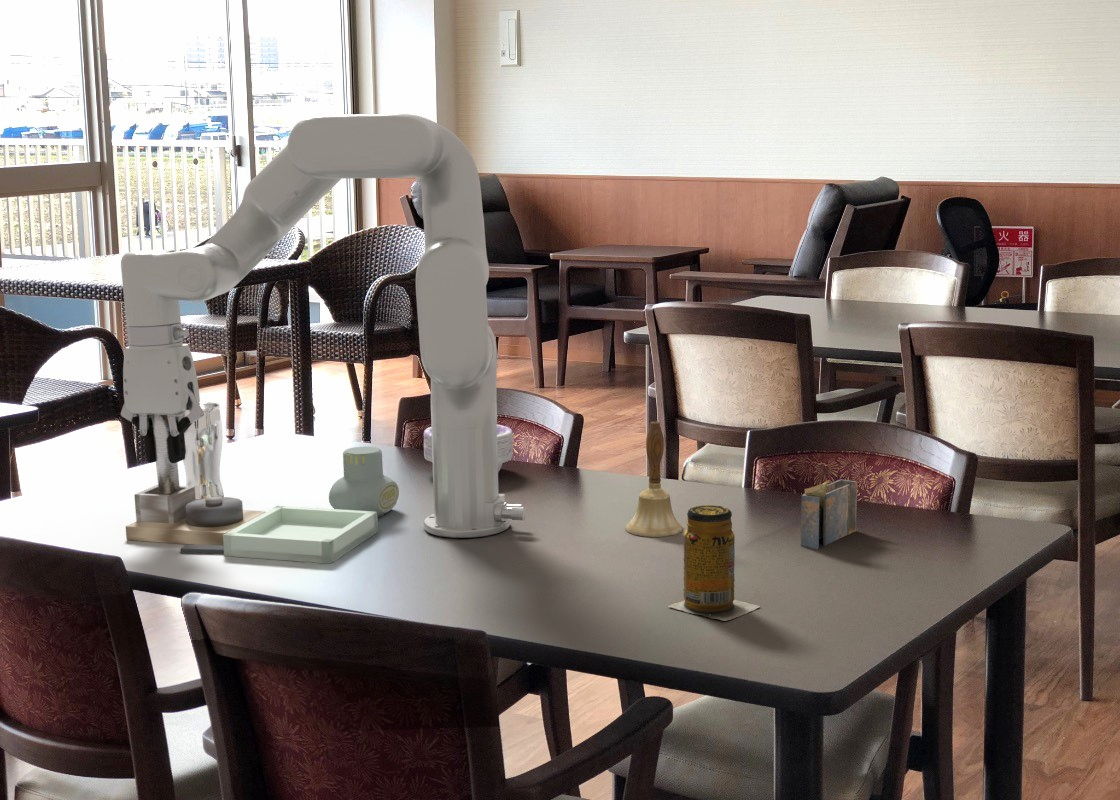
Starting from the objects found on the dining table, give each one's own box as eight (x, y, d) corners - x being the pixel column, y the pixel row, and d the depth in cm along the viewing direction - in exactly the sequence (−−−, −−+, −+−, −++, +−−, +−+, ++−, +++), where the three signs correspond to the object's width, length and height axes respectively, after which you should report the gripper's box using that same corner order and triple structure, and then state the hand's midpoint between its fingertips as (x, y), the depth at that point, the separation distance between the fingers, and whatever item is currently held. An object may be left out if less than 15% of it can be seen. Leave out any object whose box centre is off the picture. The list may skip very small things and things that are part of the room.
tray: (377, 531, 197) (377, 511, 197) (330, 563, 182) (329, 542, 181) (278, 525, 201) (277, 505, 201) (224, 555, 186) (222, 534, 186)
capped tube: (188, 488, 200) (180, 400, 198) (174, 494, 196) (165, 405, 194) (164, 487, 201) (156, 400, 199) (149, 494, 197) (141, 405, 195)
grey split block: (820, 552, 185) (821, 483, 183) (800, 549, 187) (801, 480, 185) (858, 534, 193) (860, 468, 192) (839, 530, 195) (841, 465, 194)
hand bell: (693, 526, 197) (693, 419, 194) (665, 540, 190) (665, 429, 188) (643, 519, 202) (643, 414, 199) (614, 532, 195) (614, 423, 192)
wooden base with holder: (266, 524, 202) (264, 485, 201) (225, 546, 191) (223, 505, 189) (171, 518, 206) (168, 479, 205) (125, 539, 195) (122, 499, 194)
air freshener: (357, 503, 214) (355, 441, 212) (405, 507, 211) (402, 444, 209) (323, 521, 204) (320, 456, 202) (372, 525, 201) (370, 459, 199)
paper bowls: (530, 470, 234) (529, 425, 233) (479, 489, 221) (478, 441, 220) (459, 460, 242) (458, 417, 241) (406, 478, 229) (404, 432, 228)
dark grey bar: (282, 550, 188) (282, 546, 188) (278, 554, 186) (278, 550, 186) (185, 548, 190) (185, 544, 190) (180, 553, 188) (179, 548, 188)
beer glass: (232, 491, 222) (226, 402, 219) (217, 502, 215) (211, 410, 213) (191, 491, 223) (185, 401, 220) (175, 502, 216) (169, 409, 213)
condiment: (704, 593, 167) (704, 499, 165) (760, 608, 162) (761, 510, 160) (667, 608, 162) (667, 511, 160) (724, 623, 157) (725, 523, 154)
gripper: (219, 332, 196) (229, 456, 199) (120, 333, 200) (132, 454, 204) (191, 340, 189) (202, 468, 192) (90, 340, 193) (102, 465, 197)
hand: (166, 459), depth 198 cm, fingers closed on capped tube, 3 cm apart
